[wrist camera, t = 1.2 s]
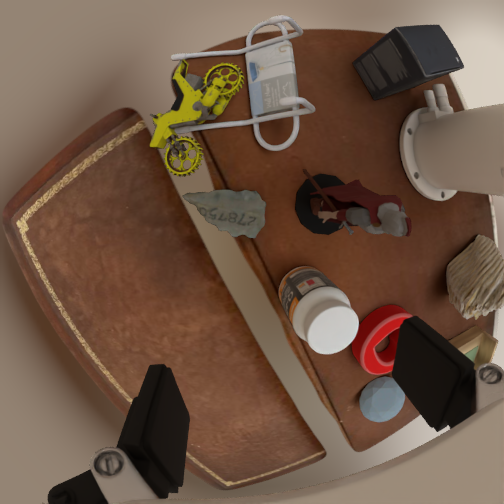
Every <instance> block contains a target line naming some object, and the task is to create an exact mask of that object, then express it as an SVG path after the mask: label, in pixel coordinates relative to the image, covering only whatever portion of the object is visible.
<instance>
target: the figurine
mask: <svg viewBox="0 0 504 504" xmlns="http://www.w3.org/2000/svg"><path fill="white" fill-rule="evenodd" d="M303 172H304V174H305V175H306V176H307V178H308V179H307V180H306V181H305V182H304V183H303V185H302V186H301V188H300V189H299V190H298V192H297V197H296V206H295V210H296V212H297V214H298V217H299V219H300V222H301V224H302V225H304V226H305V227H306V228H308V229H309V230H310V231H312V232H313V233H317V234H327V235H329V234H331V233H333V232H335V231H337V230H340V229H342V228H343V226H344V225H345V227H346V228H347V230H348V231H349V234H350V235H351V234H353V230H351V229H350V227H349V226H360V227H361V228H362V229H364V230H365V231H366V232H368V233H372V234H382V233H387V234H389V233H391V234H392V235H393V236H400V237H401V236H403V235H404V236H410V233H411V220H410V218H409V217H407V216H406V214H405V213H404V212H405V209H404V206H403V204H402V202H401V199H400V198H399V197H397V196H396V195H383V196H380V195H378V194H376V193H374V192H372V191H370V190H368V189H366V188H365V187H363V186H362V185H361V183H360V181H359V180H354V181H352V182H350V183H348V184H346V185H345V184H344V183H343V182H342V181H341V180H340V179H338V178H337V177H336V176H332V175H326V174H319V175H316V176H314V177H311V176H310V174H309V173H308V172H307V171H306V170H305V169H303Z"/></svg>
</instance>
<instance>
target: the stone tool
mask: <svg viewBox="0 0 504 504" xmlns="http://www.w3.org/2000/svg"><path fill="white" fill-rule="evenodd" d="M183 198H184V199H185V200H187V201H188V202H189V203H191V204H194V205H195V206H196V207H197V210H198V211H199V212H200V214H201V215H202V216H204V217H205V220H206V221H207V222H208V223H211V224H213V225H215V226H217V228H218V229H219V230H220V231H228V232H229V233H230V235H231V236H232V237H238V236H239V235H246V236H247V237H249V238H256V235H257V233H258V232H259V231H260V230H261V228H262V227H263V226H264V224H265V218H264V213H265V207H266V202H265V201H262V199H261V197H260V195H259V194H258V192H257V191H248V190H243V191H241V192H234V191H232V190H214V191H211V192H209V193H205V192H198V193H187V194H185V195H183Z"/></svg>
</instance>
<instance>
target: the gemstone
mask: <svg viewBox="0 0 504 504" xmlns="http://www.w3.org/2000/svg"><path fill="white" fill-rule="evenodd" d="M404 400H405V393H404V392H403V390H402V389H401V388H400V387H399V385H398V384H397V383H396V381H395V380H394V379H393V378H391V377H386V376H385V377H380V378H376V379H374V380H373V381H371V382H370V383H368V384H367V386H366V387H365V388H364V390H363V391H362V394H361V397H360V409H361V411H362V413H363V415H364V416H365V417H366V418H368V419H369V420H370V421H375V422H383V421H387V420H390V419H391V418H393V417H394V416H396V415H397V414H398V412H399V411H400V410H401V408H402V406H403V403H404Z"/></svg>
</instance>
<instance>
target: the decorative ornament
mask: <svg viewBox="0 0 504 504" xmlns="http://www.w3.org/2000/svg"><path fill="white" fill-rule="evenodd" d="M410 317H413V316H412V315H411V314H409V313H408V312H407V311H405V310H404V309H403V308H401V307H400V306H397V305H387V306H383V307H381V308H378V309H376V310H375V311H373V312H372V313H370V314H369V315H368V316H367V317H366V318H365V319H364V320H363V321H362V323H361V324H360V325H359V327H358V331H357V334H356V336H355V338H354V339H353V341H352V352H353V355H354V356H355V358H356V359H357V361H358V362H359V363H360V365H361V366H362V368H363V369H364V370H365V371H366V372H368V373H370V374H375V375H379V374H385V373H388V372H390V371H392V370H393V365H394V360H395V354H396V349H397V342H398V336H399V329H400V325H401V324H402V323H403V320H405V319H407V318H410ZM392 331H393V332H392ZM391 332H392V333H391ZM390 333H391V334H390ZM388 334H390V335H389V339H390V343H389V345H388V347H387V348H386V349H385V350H384V351H382V352H379V353H377V352H376V351H375V346H376V345H377V344H378V343H379V342H380V341H382V340H383V339H384V338H385V337H386V336H387V335H388Z"/></svg>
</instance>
